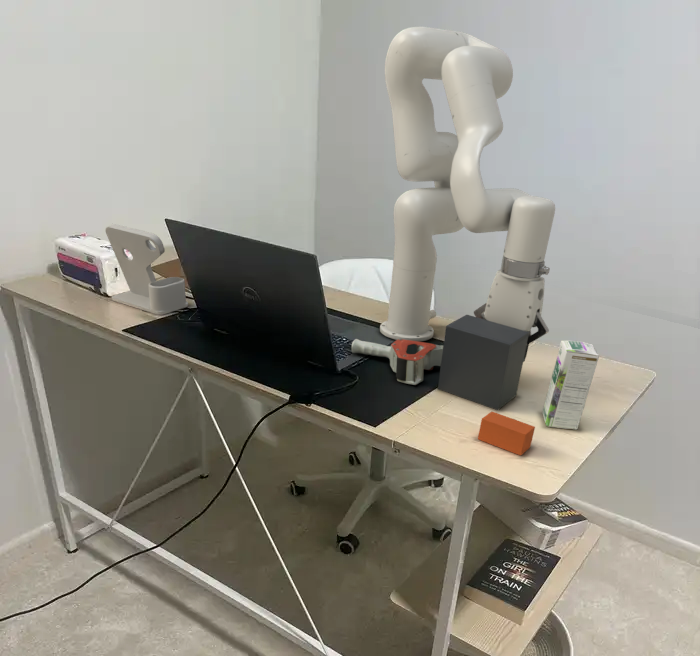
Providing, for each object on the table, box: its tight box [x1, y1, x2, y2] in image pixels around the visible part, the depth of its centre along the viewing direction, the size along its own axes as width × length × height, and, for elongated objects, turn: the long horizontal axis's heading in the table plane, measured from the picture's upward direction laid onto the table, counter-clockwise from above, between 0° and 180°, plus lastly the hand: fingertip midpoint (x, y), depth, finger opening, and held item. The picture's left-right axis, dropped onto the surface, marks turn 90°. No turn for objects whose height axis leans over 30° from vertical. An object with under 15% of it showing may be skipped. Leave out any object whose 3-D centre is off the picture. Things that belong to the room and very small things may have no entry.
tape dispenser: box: [351, 338, 444, 386], centre depth 136 cm, size 18×5×20 cm
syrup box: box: [541, 340, 600, 430], centre depth 117 cm, size 6×6×14 cm
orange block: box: [477, 411, 536, 457], centre depth 111 cm, size 4×8×4 cm, turn 53°
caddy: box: [437, 314, 529, 411], centre depth 127 cm, size 13×13×15 cm
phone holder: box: [105, 223, 189, 316], centre depth 156 cm, size 17×10×18 cm, turn 59°
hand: (503, 356), depth 133 cm, fingers closed on caddy, 6 cm apart
